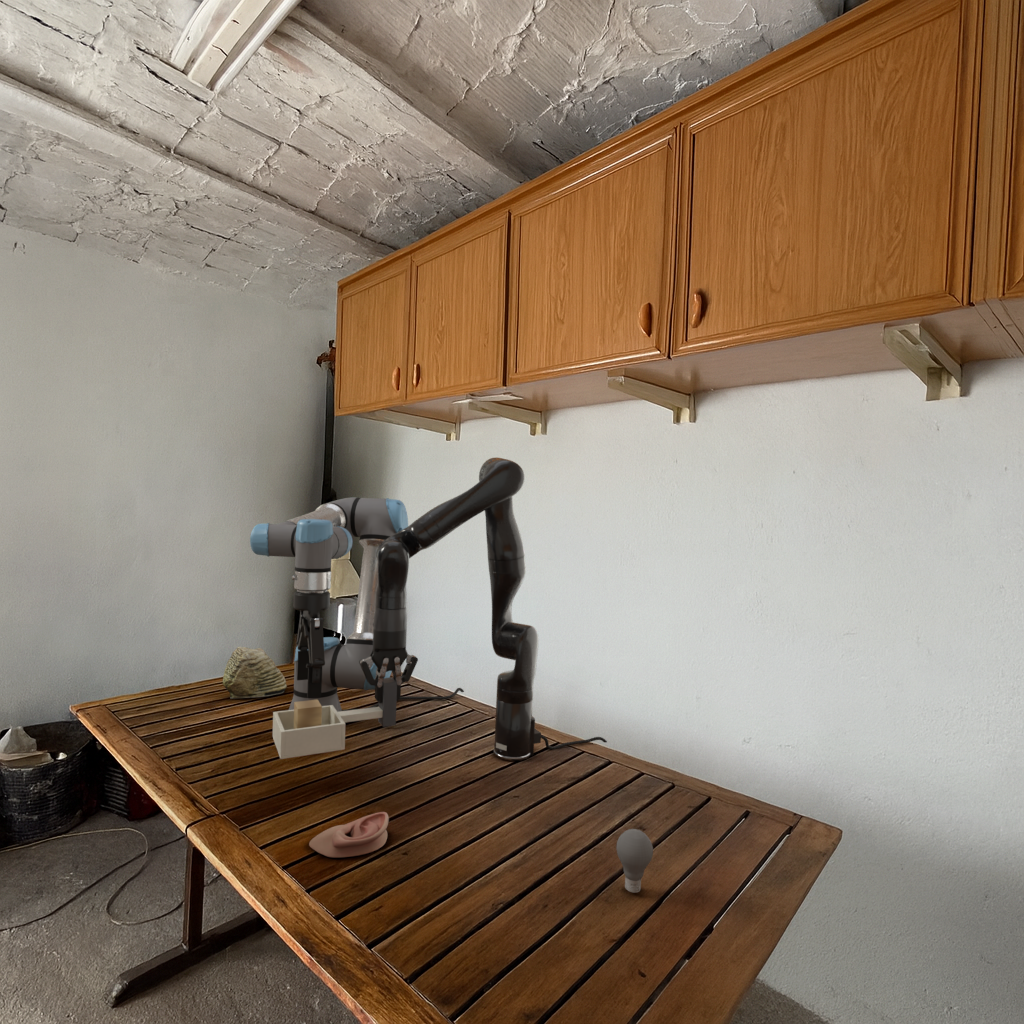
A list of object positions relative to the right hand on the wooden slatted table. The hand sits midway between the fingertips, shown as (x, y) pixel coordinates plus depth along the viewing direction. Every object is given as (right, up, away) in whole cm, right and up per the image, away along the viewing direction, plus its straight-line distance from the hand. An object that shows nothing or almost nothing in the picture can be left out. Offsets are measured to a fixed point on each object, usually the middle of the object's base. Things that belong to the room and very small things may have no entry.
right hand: (387, 700), depth 146 cm
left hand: (-16, +5, -8) cm, 18 cm away
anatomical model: (-1, -18, -29) cm, 34 cm away
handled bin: (-10, -7, -5) cm, 13 cm away
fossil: (-52, -14, +52) cm, 75 cm away
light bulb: (+49, -20, -40) cm, 66 cm away
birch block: (-16, -6, -8) cm, 19 cm away
